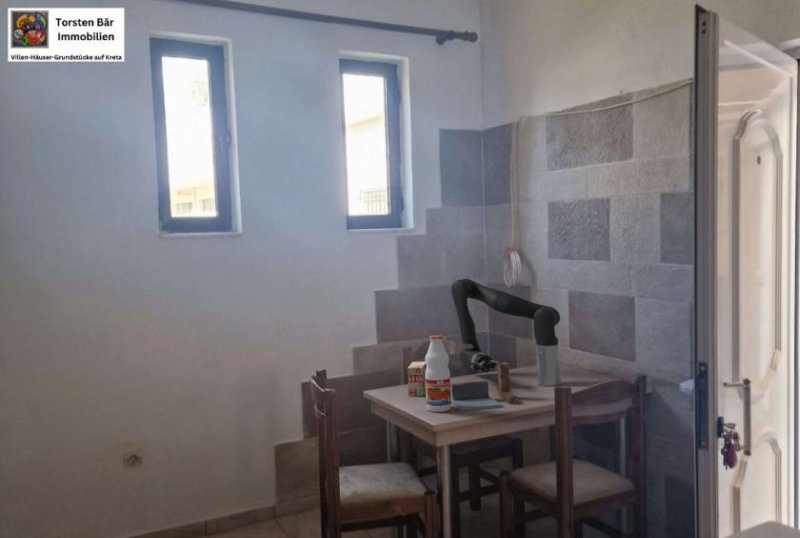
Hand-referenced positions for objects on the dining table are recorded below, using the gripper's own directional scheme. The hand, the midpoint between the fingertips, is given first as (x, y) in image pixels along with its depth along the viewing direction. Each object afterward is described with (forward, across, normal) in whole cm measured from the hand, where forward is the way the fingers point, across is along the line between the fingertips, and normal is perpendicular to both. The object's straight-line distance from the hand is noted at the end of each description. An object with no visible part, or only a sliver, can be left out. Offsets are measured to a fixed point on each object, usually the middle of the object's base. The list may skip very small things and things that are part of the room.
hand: (494, 368), depth 259 cm
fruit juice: (+19, -29, +10) cm, 36 cm away
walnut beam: (+11, 0, +10) cm, 15 cm away
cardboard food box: (-14, -29, +10) cm, 33 cm away
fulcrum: (+11, -14, +10) cm, 20 cm away
